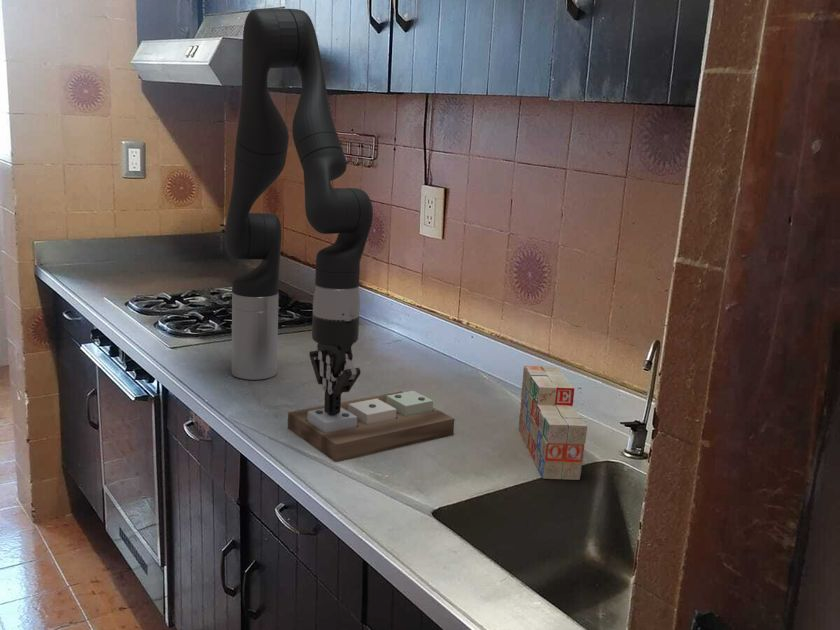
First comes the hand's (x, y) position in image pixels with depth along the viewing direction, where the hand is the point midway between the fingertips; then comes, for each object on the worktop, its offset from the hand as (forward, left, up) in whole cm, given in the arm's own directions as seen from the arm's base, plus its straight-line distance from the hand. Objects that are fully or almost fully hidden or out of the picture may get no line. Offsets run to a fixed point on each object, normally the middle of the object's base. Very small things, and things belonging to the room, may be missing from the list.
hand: (332, 413), depth 135 cm
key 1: (0, +8, -3) cm, 9 cm away
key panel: (0, +8, -5) cm, 9 cm away
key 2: (0, +16, -3) cm, 16 cm away
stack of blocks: (+22, +29, -5) cm, 37 cm away
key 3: (0, 0, -3) cm, 3 cm away
